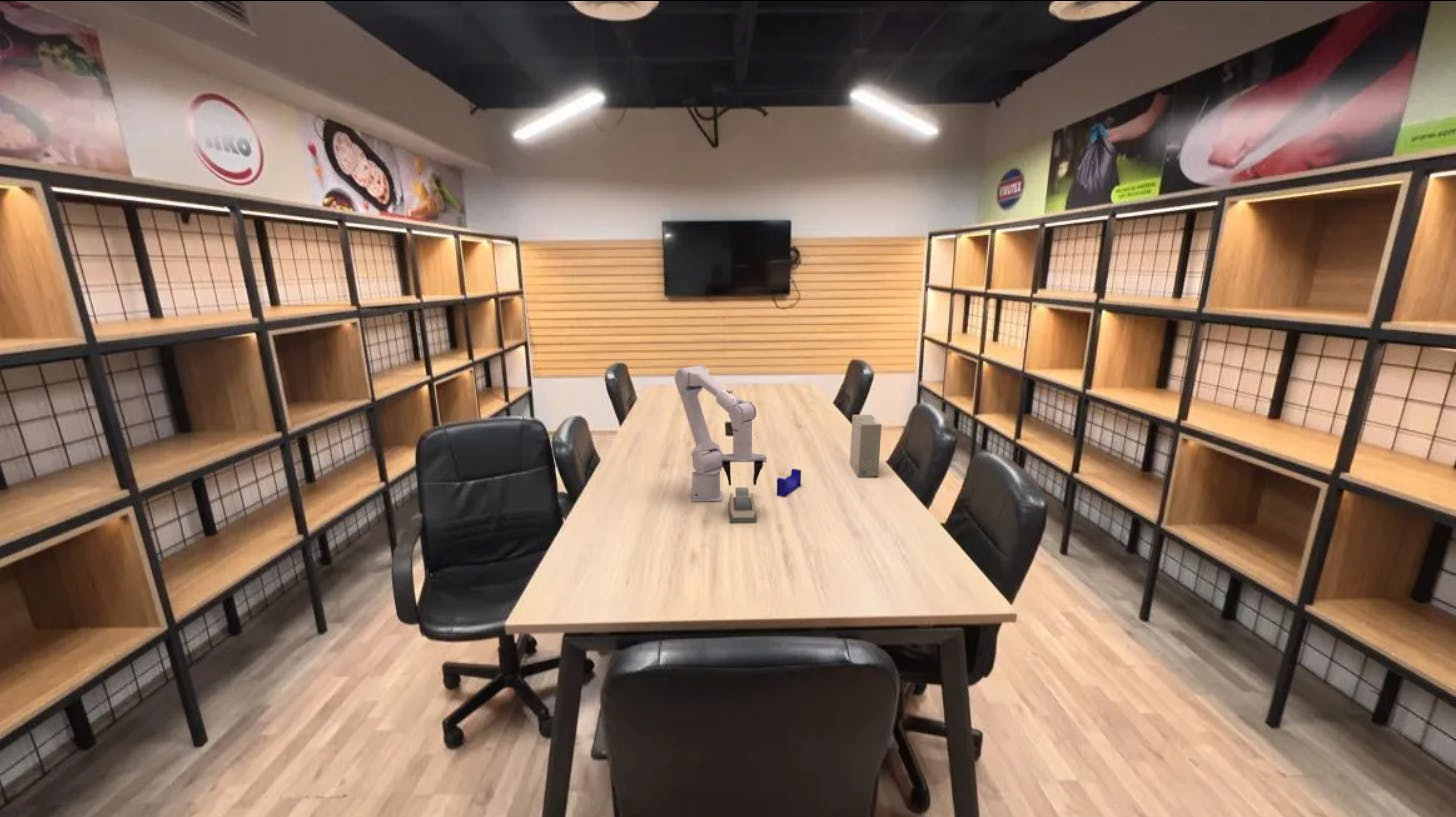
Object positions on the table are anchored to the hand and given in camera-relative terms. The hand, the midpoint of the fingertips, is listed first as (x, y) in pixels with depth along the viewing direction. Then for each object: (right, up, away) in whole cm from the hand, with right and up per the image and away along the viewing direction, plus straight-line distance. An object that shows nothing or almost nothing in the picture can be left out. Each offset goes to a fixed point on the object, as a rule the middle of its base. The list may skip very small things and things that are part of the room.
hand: (742, 484), depth 172 cm
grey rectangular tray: (0, -9, +2) cm, 9 cm away
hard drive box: (+47, 0, +38) cm, 60 cm away
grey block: (0, -7, +2) cm, 8 cm away
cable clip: (+16, -5, +20) cm, 26 cm away
